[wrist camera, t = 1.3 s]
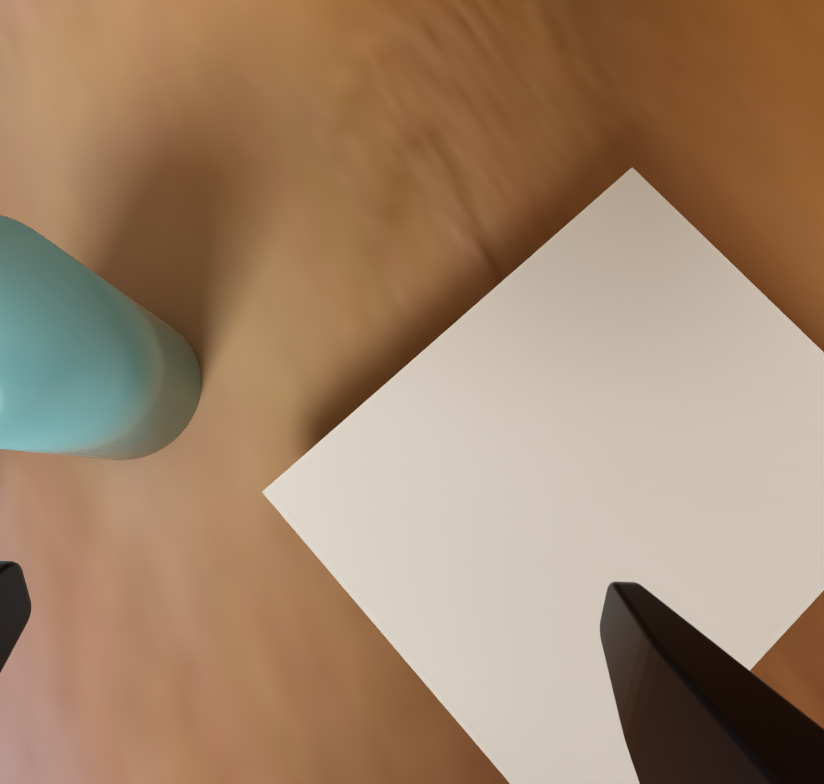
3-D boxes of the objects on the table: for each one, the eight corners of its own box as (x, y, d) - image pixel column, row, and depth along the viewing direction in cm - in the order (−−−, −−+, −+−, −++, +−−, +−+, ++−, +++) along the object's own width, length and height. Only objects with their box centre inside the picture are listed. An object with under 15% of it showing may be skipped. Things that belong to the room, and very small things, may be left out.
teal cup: (112, 491, 22) (-78, 494, 13) (22, 380, 23) (-215, 313, 14) (231, 392, 23) (125, 332, 14) (140, 287, 24) (-15, 167, 15)
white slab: (545, 798, 21) (574, 860, 17) (283, 491, 22) (261, 491, 19) (858, 468, 23) (939, 464, 20) (599, 211, 25) (631, 167, 21)
